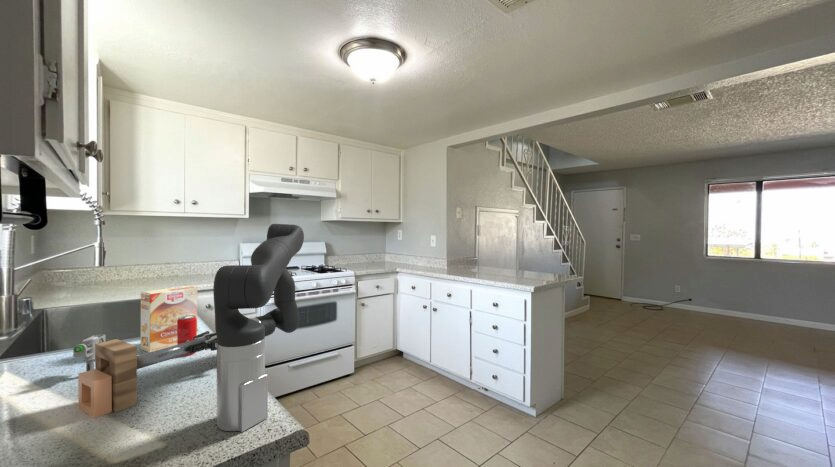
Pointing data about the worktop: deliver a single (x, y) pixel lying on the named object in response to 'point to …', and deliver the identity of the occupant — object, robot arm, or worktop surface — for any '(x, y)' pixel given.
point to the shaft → (166, 353)
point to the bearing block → (119, 370)
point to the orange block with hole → (95, 393)
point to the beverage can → (186, 329)
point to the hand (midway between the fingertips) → (185, 348)
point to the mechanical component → (88, 350)
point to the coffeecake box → (164, 315)
